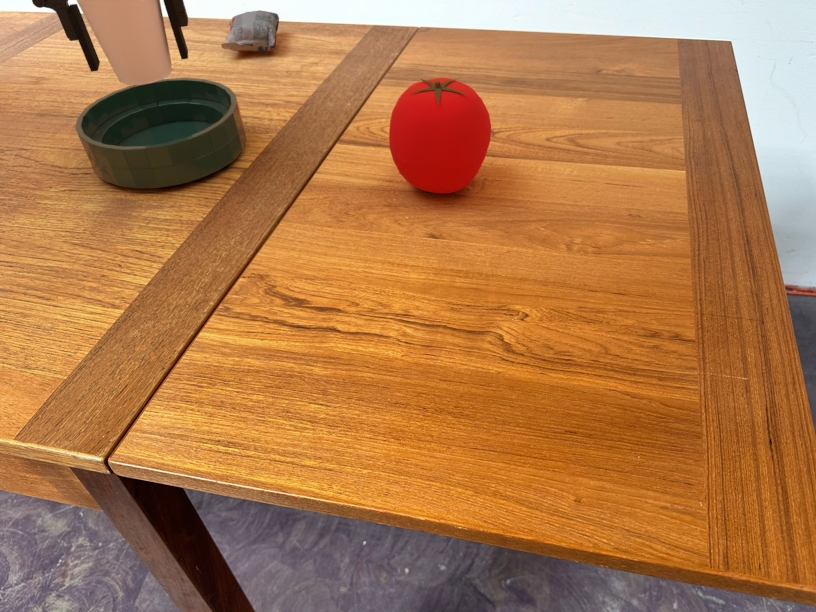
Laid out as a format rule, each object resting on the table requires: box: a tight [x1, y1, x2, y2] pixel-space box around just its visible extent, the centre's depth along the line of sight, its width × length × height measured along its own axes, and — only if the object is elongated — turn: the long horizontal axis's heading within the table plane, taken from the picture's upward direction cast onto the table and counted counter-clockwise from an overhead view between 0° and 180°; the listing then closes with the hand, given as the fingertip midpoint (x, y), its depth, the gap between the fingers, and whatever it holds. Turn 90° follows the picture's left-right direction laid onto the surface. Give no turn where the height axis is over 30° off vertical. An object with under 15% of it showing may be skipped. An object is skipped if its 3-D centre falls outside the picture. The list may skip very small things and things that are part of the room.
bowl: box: [74, 77, 247, 189], centre depth 85 cm, size 19×19×6 cm
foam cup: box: [76, 0, 173, 86], centre depth 75 cm, size 10×9×13 cm
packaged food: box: [220, 9, 280, 52], centre depth 112 cm, size 9×12×5 cm
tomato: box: [388, 77, 492, 194], centre depth 76 cm, size 12×12×13 cm
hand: (140, 60), depth 79 cm, fingers closed on foam cup, 9 cm apart
